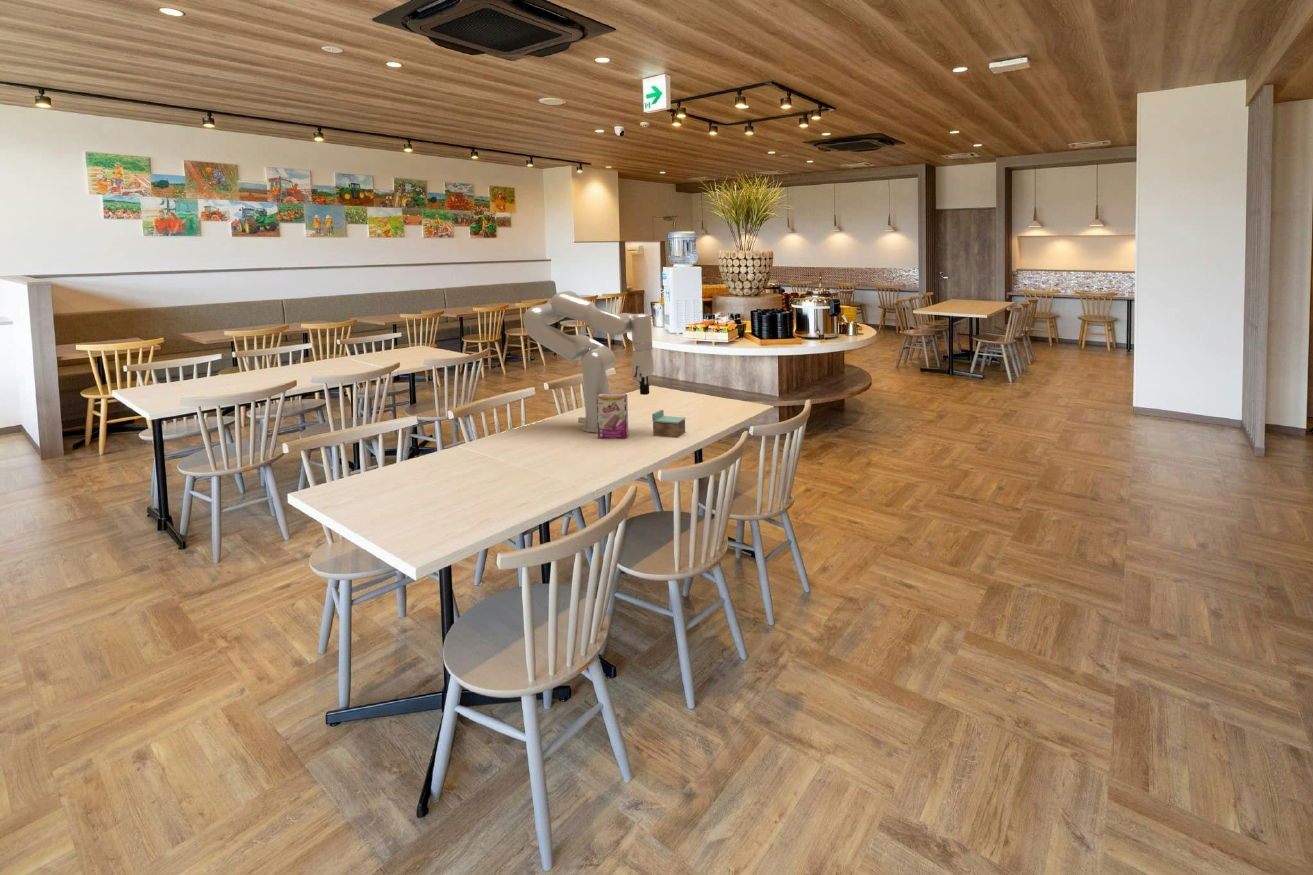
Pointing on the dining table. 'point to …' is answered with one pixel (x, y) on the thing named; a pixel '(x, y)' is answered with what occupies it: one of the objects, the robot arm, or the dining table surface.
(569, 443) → the dining table surface
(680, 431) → the brown wooden box
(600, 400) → the candy bar box
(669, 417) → the lid
